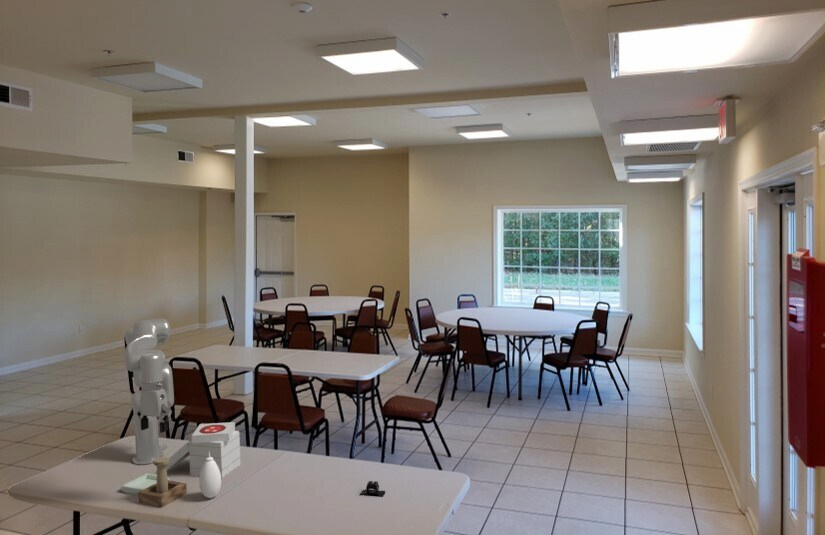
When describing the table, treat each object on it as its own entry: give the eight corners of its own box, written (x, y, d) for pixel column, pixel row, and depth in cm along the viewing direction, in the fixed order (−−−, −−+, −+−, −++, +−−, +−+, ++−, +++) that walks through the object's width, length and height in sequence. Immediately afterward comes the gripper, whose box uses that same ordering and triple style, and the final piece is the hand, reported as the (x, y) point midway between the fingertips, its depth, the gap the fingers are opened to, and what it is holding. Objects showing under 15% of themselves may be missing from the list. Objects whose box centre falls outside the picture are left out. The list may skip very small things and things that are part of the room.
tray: (147, 479, 245) (147, 473, 245) (169, 483, 240) (169, 477, 240) (121, 492, 233) (120, 485, 233) (144, 496, 228) (143, 490, 228)
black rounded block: (390, 491, 229) (390, 480, 229) (385, 500, 222) (385, 488, 222) (360, 489, 232) (359, 477, 232) (354, 497, 225) (353, 485, 225)
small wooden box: (164, 489, 234) (163, 479, 234) (186, 493, 230) (186, 483, 230) (138, 502, 223) (138, 492, 223) (161, 507, 219) (161, 497, 218)
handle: (164, 502, 223) (162, 463, 222) (151, 499, 226) (149, 460, 225) (174, 496, 227) (172, 458, 227) (161, 494, 230) (159, 456, 229)
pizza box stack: (186, 458, 267) (185, 419, 266) (247, 463, 260) (245, 422, 259) (159, 475, 248) (157, 433, 247) (223, 480, 241) (221, 437, 240)
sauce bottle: (202, 503, 221) (200, 456, 220) (198, 496, 228) (196, 450, 227) (224, 498, 225) (222, 452, 224) (218, 491, 232) (217, 445, 231)
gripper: (177, 385, 226) (179, 429, 226) (143, 382, 232) (145, 425, 233) (161, 390, 219) (163, 435, 219) (127, 386, 225) (129, 431, 226)
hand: (154, 430), depth 226 cm, fingers open, 9 cm apart
